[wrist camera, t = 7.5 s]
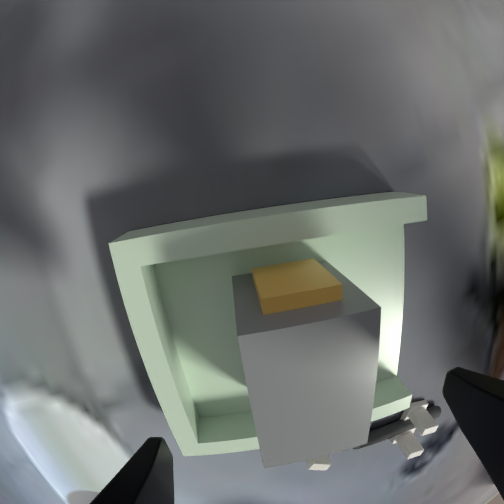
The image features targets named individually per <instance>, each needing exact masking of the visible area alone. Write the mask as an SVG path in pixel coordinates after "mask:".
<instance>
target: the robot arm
mask: <svg viewBox="0 0 504 504" xmlns="http://www.w3.org/2000/svg"><path fill="white" fill-rule="evenodd" d="M443 396H444V398H445V400H446V402H447V404H448V405H449V407H450V409H451V411H452V413H453V415H454V417H455V419H456V421H457V423H458V425H459V427H460V429H461V430H462V432H463V434H464V435H465V437H466V438H467V440H468V441H469V443H470V444H471V446H472V448H473V449H474V451H475V452H476V454H477V456H478V457H479V459H480V460H481V462H482V464H483V465H484V467H485V469H486V470H487V472H488V474H489V475H490V477H491V479H492V480H493V482H494V484H495V486H496V487H497V489H498V491H499V493H500V494H501V496H502V498H503V500H504V380H500V379H497V378H493V377H490V376H486V375H483V374H480V373H476V372H473V371H470V370H466V369H463V368H460V367H456V368H454V369H452V370H450V371H448V372H447V374H446V378H445V382H444V386H443ZM90 504H174V480H173V457H172V454H171V451H170V450H169V448H168V446H167V444H166V442H165V440H164V439H163V438H162V437H150V438H148V439H147V440H146V441H145V443H144V444H143V445H142V446H141V447H140V448H139V450H138V451H137V452H136V453H135V454H134V455H133V456H132V457H131V459H130V460H129V461H128V462H127V463H126V464H125V465H124V467H123V468H122V469H121V470H120V471H119V472H118V473H117V474H116V475H115V477H114V478H113V479H112V480H111V481H110V482H109V483H108V484H107V485H106V486H105V488H104V489H103V490H102V491H101V492H100V493H99V494H98V495H97V496H96V497H95V498H94V500H93V501H92V502H91V503H90Z"/></svg>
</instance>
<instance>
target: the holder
mask: <svg viewBox="0 0 504 504" xmlns="http://www.w3.org/2000/svg"><path fill="white" fill-rule="evenodd" d="M420 221H427V199H426V195H419V194H411V193H404V192H385V193H376V194H367V195H358V196H350V197H341V198H333V199H325V200H318V201H310V202H302V203H295V204H288V205H281V206H274V207H267V208H260V209H254V210H247V211H241V212H235V213H228V214H222V215H216V216H210V217H204V218H198V219H192V220H187V221H181V222H175V223H170V224H164V225H159V226H154V227H148V228H143V229H138V230H133V231H128V232H127V233H125V234H123V235H122V236H120V237H118V238H117V239H115V240H113V241H112V242H110V243H109V248H110V252H111V256H112V260H113V264H114V268H115V272H116V276H117V280H118V284H119V287H120V291H121V295H122V298H123V302H124V305H125V308H126V312H127V315H128V318H129V321H130V325H131V328H132V331H133V334H134V337H135V340H136V343H137V346H138V349H139V351H140V354H141V357H142V360H143V363H144V365H145V368H146V371H147V373H148V376H149V379H150V381H151V384H152V386H153V389H154V391H155V394H156V396H157V398H158V401H159V403H160V406H161V408H162V410H163V413H164V415H165V417H166V419H167V422H168V424H169V426H170V428H171V430H172V433H173V435H174V437H175V439H176V441H177V443H178V445H179V447H180V449H181V451H182V453H183V455H184V456H198V455H211V454H222V453H232V452H240V451H247V450H254V449H260V447H259V443H258V438H257V433H256V428H255V424H254V419H253V414H252V409H251V404H250V399H249V394H248V389H247V384H246V379H245V374H244V369H243V364H242V359H241V353H240V348H239V343H238V338H237V328H236V318H235V307H234V296H233V285H232V276H236V275H242V274H249V273H252V268H258V267H264V266H270V265H276V264H282V263H289V262H295V261H301V260H307V259H313V258H314V259H315V260H316V261H317V262H322V261H327V262H328V263H330V264H331V265H332V266H333V267H334V268H336V269H337V270H338V271H339V272H340V273H342V274H343V275H344V276H345V277H346V278H348V279H349V280H350V281H351V282H352V283H353V284H355V285H356V286H357V287H358V288H359V289H361V290H362V291H363V292H364V293H365V294H366V295H368V296H369V297H370V298H371V299H372V300H373V301H375V302H376V303H377V304H378V305H379V306H380V307H381V324H380V342H379V356H378V367H377V377H376V386H375V395H374V403H373V410H372V417H371V422H372V421H375V420H378V419H381V418H383V417H386V416H389V415H392V414H394V413H397V412H400V411H402V410H405V409H407V408H409V407H410V402H411V398H412V394H411V393H410V391H409V390H408V389H407V388H406V387H405V385H404V384H403V383H402V382H401V380H400V379H399V378H398V377H397V368H398V360H399V351H400V342H401V331H402V317H403V300H404V224H407V223H414V222H420Z"/></svg>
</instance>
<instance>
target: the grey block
mask: <svg viewBox="0 0 504 504" xmlns="http://www.w3.org/2000/svg"><path fill="white" fill-rule="evenodd" d="M232 285H233V296H234V307H235V318H236V328H237V338H238V343H239V348H240V353H241V359H242V364H243V369H244V374H245V379H246V384H247V389H248V394H249V399H250V404H251V409H252V414H253V419H254V424H255V428H256V433H257V438H258V443H259V447H260V452H261V456H262V461H263V465H264V468H267V467H273V466H279V465H285V464H290V463H295V462H300V461H304V460H309V459H313V458H317V457H321V456H325V455H329V454H333V453H337V452H340V451H344V450H347V449H351V448H354V447H357V446H360V445H363V444H367V441H368V436H369V430H370V423H371V417H372V410H373V403H374V395H375V386H376V377H377V367H378V356H379V342H380V324H381V307H380V306H379V305H378V304H377V303H376V302H375V301H373V300H372V299H371V298H370V297H369V296H368V295H366V294H365V293H364V292H363V291H362V290H361V289H359V288H358V287H357V286H356V285H355V284H353V283H352V282H351V281H350V280H349V279H348V278H346V277H345V276H344V275H343V274H342V273H340V272H339V271H338V270H337V269H336V268H334V267H333V266H332V265H331V264H330V263H328V262H327V261H322V262H317V261H316V260H315V259H314V258H313V259H307V260H301V261H295V262H289V263H282V264H276V265H270V266H264V267H258V268H252V273H249V274H242V275H236V276H232Z"/></svg>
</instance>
